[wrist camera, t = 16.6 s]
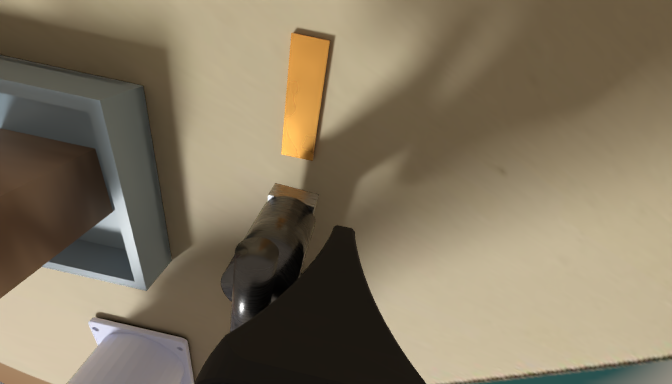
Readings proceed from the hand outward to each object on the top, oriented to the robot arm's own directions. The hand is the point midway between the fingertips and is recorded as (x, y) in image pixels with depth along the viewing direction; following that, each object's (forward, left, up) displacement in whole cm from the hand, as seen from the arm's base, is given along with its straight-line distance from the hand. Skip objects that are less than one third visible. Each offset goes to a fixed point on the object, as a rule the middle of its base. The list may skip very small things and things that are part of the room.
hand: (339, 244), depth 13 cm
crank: (-4, +3, -2) cm, 5 cm away
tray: (-2, +16, -3) cm, 16 cm away
